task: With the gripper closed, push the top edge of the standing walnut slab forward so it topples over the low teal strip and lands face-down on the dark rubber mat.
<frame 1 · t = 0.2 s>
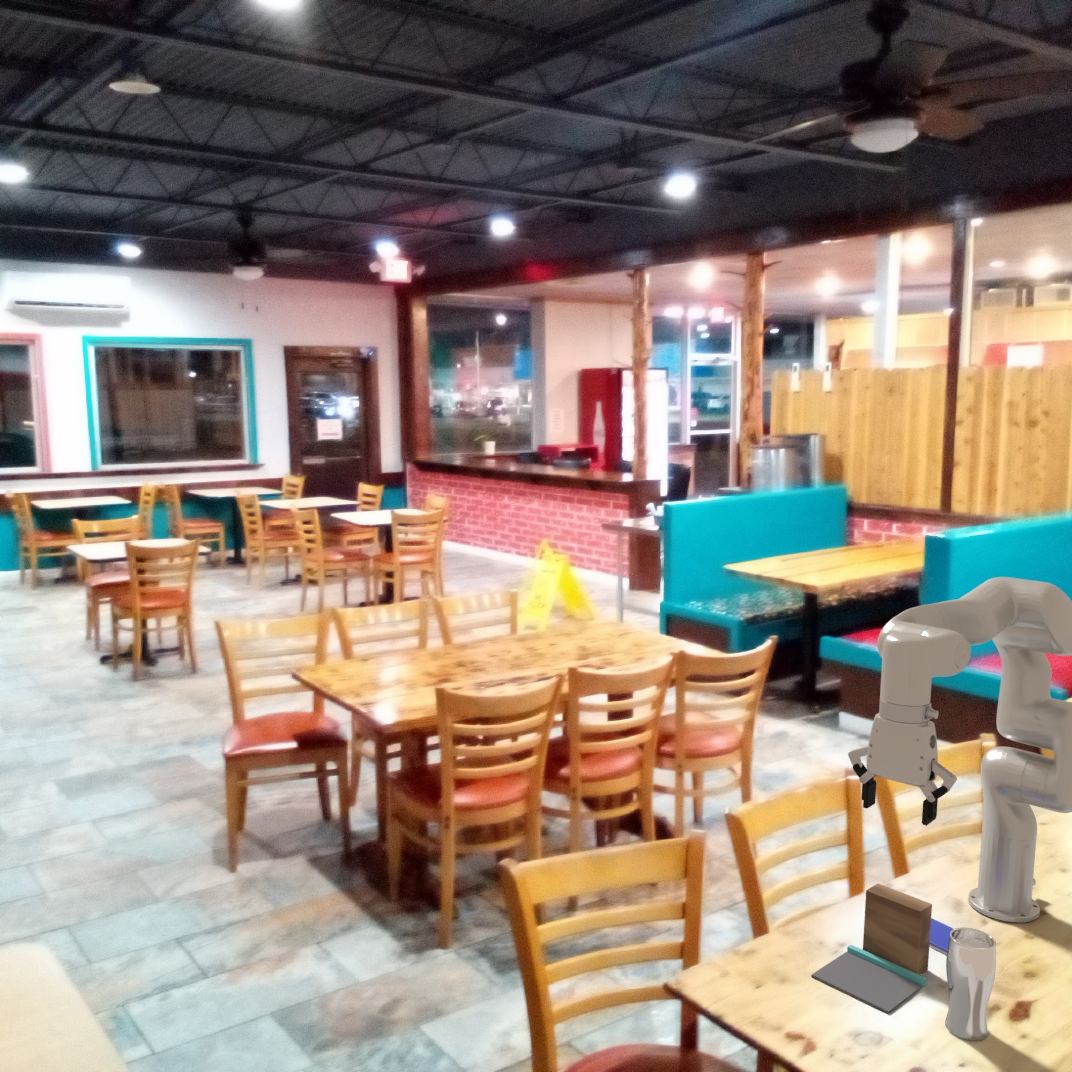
hand: (897, 814, 162), 31 cm above the table, tool pointing down, fingers open, 9 cm apart
mat: (866, 982, 169), on the table
slab: (894, 962, 175), on the table
hard drive: (947, 946, 182), on the table
beer glass: (966, 1030, 156), on the table
stop strip: (885, 968, 173), on the table
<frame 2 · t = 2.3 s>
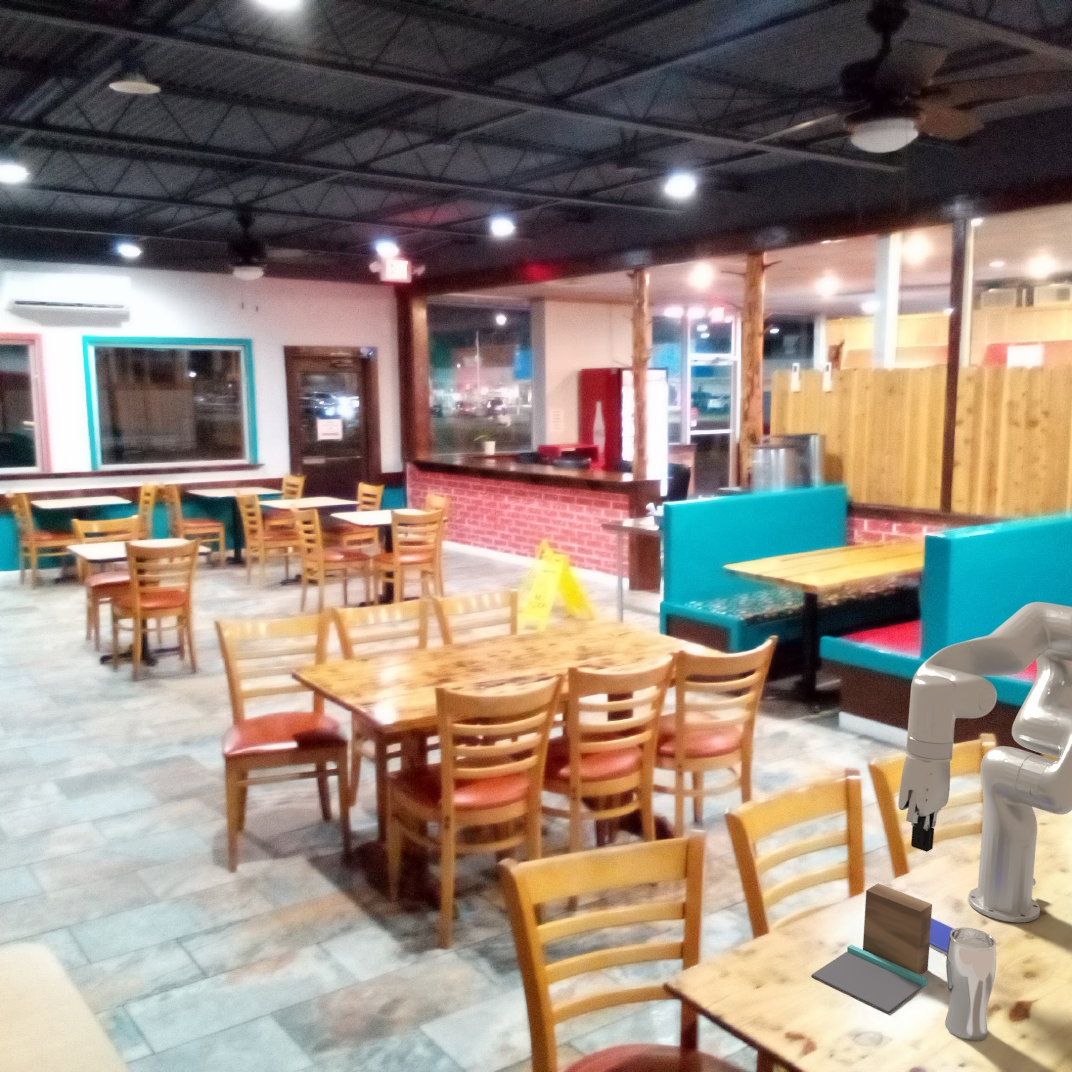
hand: (921, 847, 178), 19 cm above the table, tool pointing down, fingers closed
nothing on the table moved.
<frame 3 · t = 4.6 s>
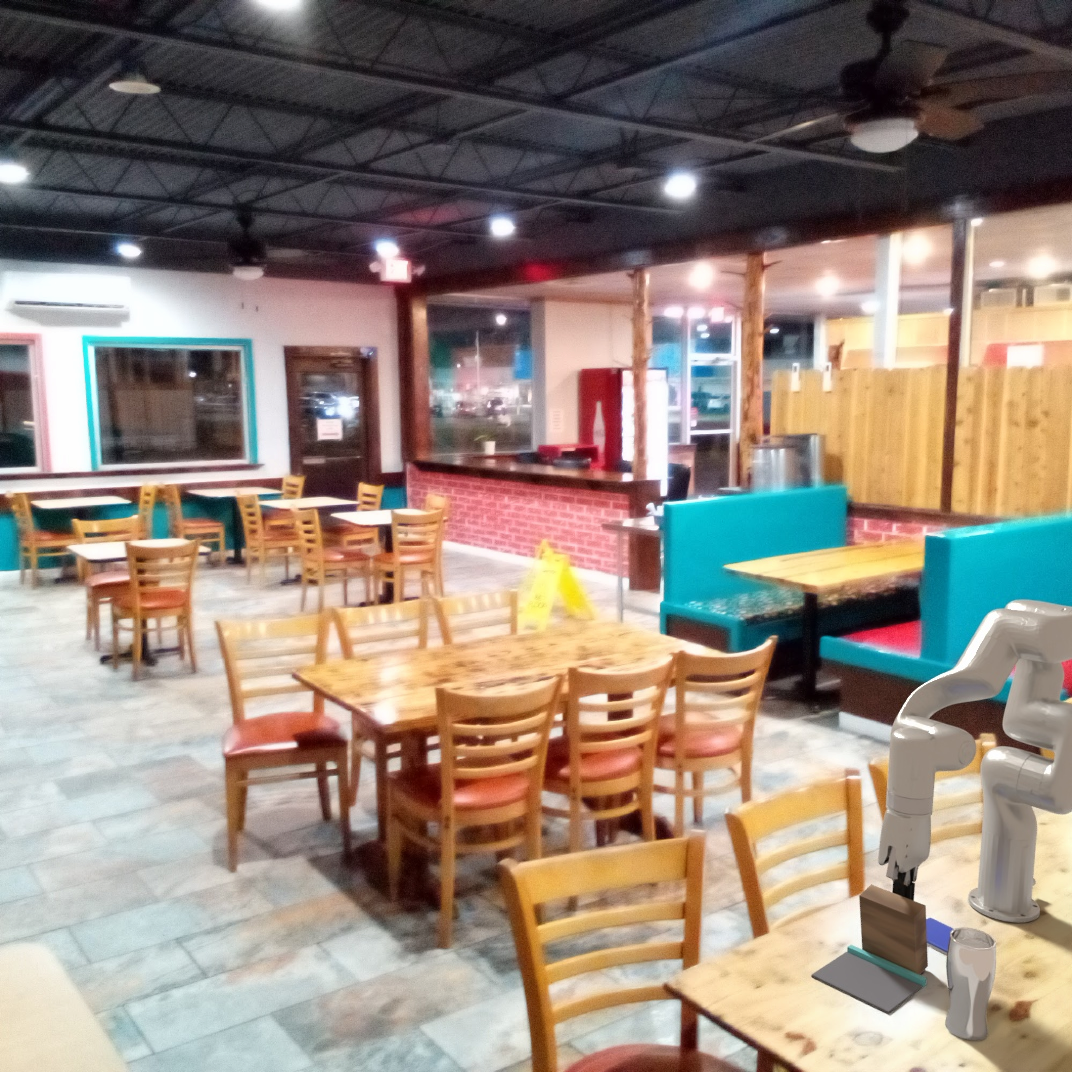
hand: (902, 902, 175), 10 cm above the table, tool pointing down, fingers closed
slab: (894, 960, 175), on the table, tilted 11°
everything else where it was.
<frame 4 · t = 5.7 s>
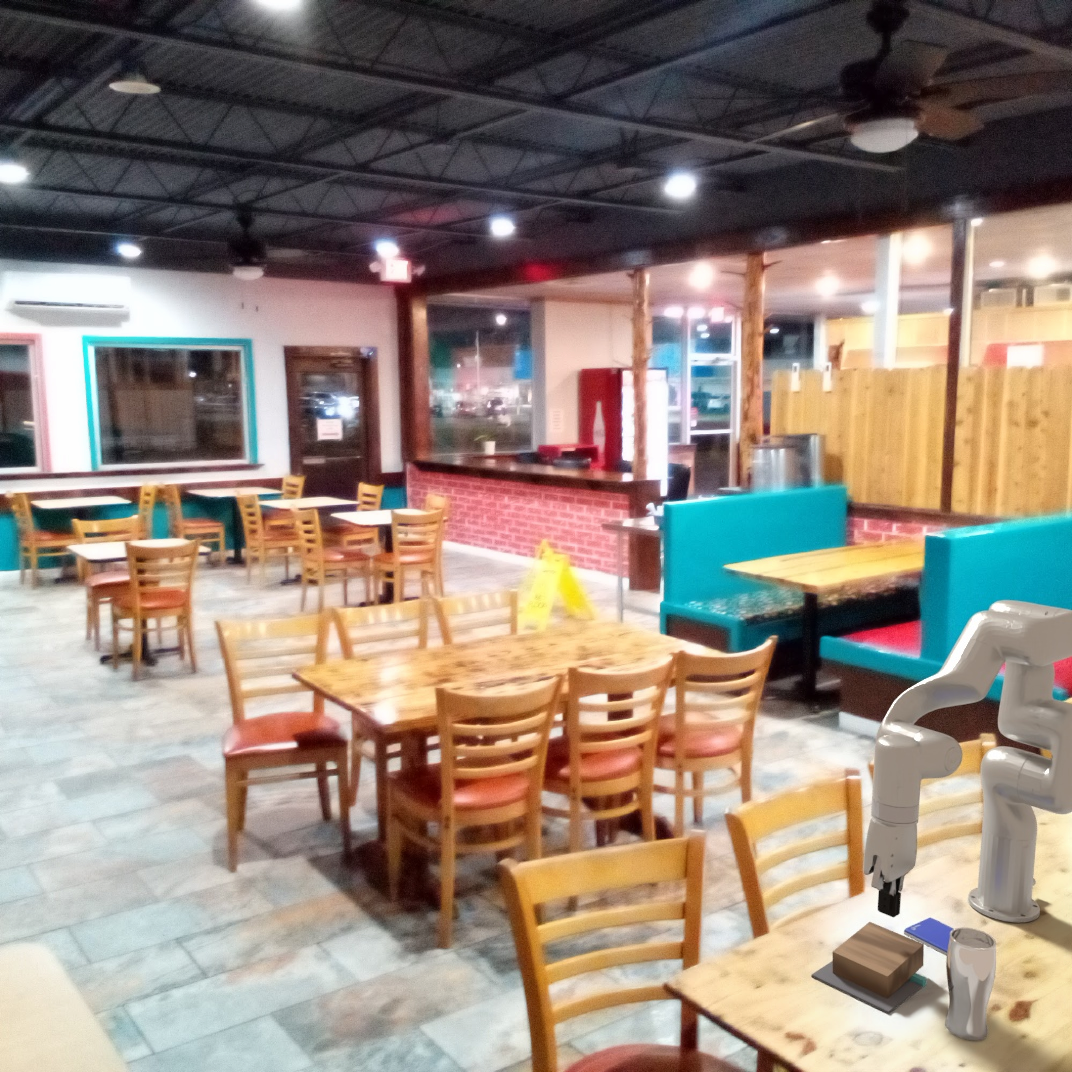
hand: (888, 912, 172), 10 cm above the table, tool pointing down, fingers closed
slab: (896, 943, 175), point 4 cm above the table, tilted 96°, touching mat, stop strip
everything else where it was.
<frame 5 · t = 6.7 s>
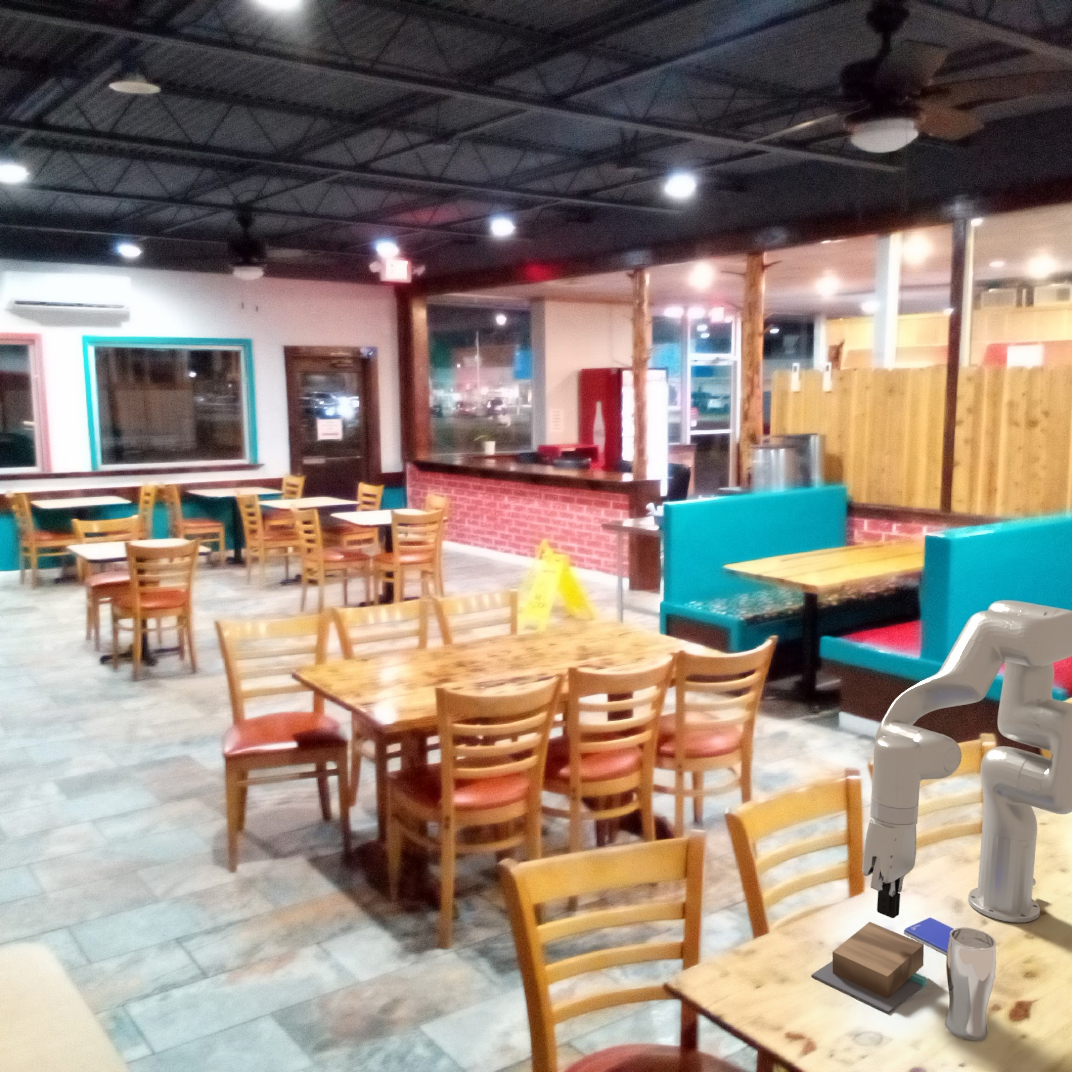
hand: (887, 913, 172), 10 cm above the table, tool pointing down, fingers closed
nothing on the table moved.
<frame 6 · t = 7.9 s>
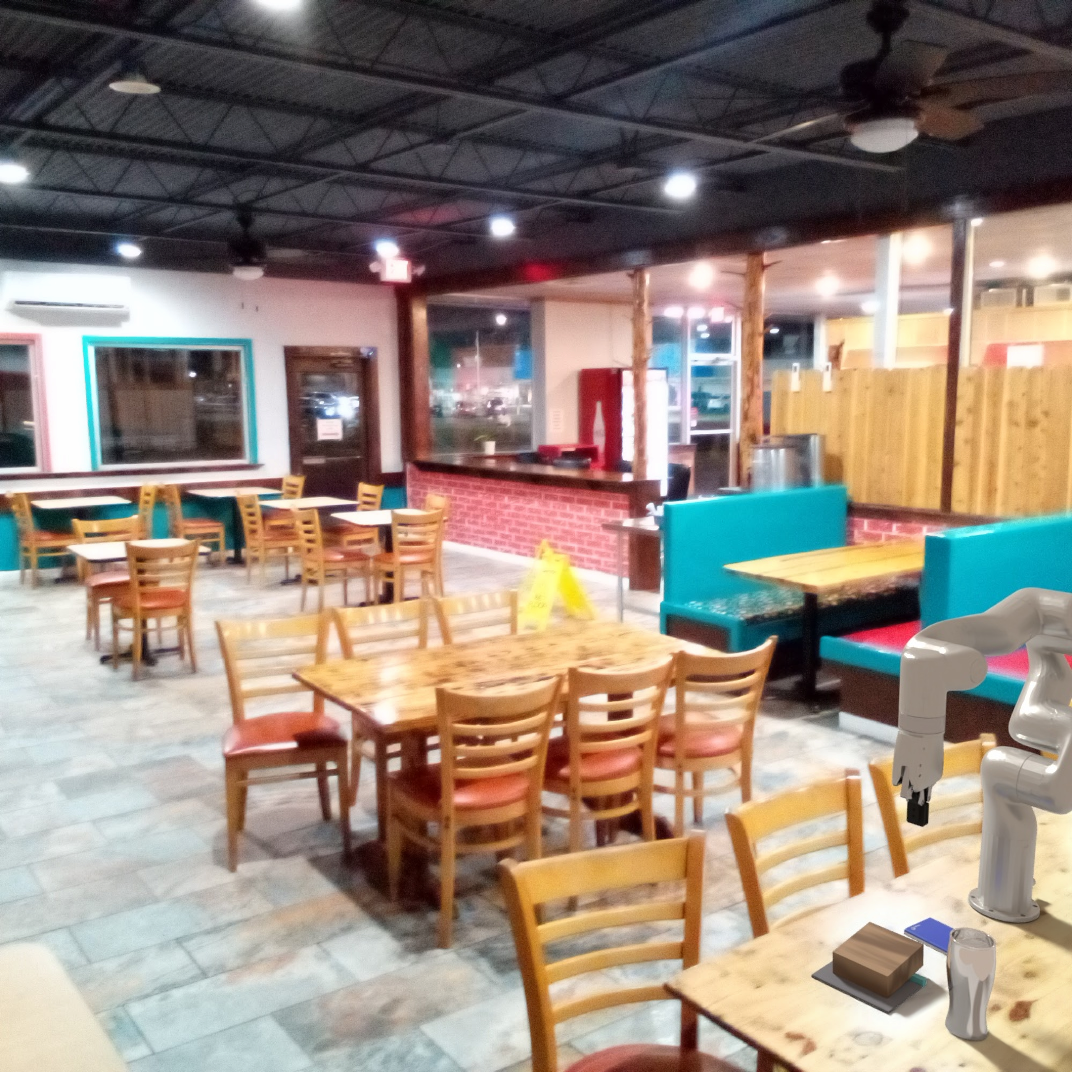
hand: (917, 823, 175), 24 cm above the table, tool pointing down, fingers closed
nothing on the table moved.
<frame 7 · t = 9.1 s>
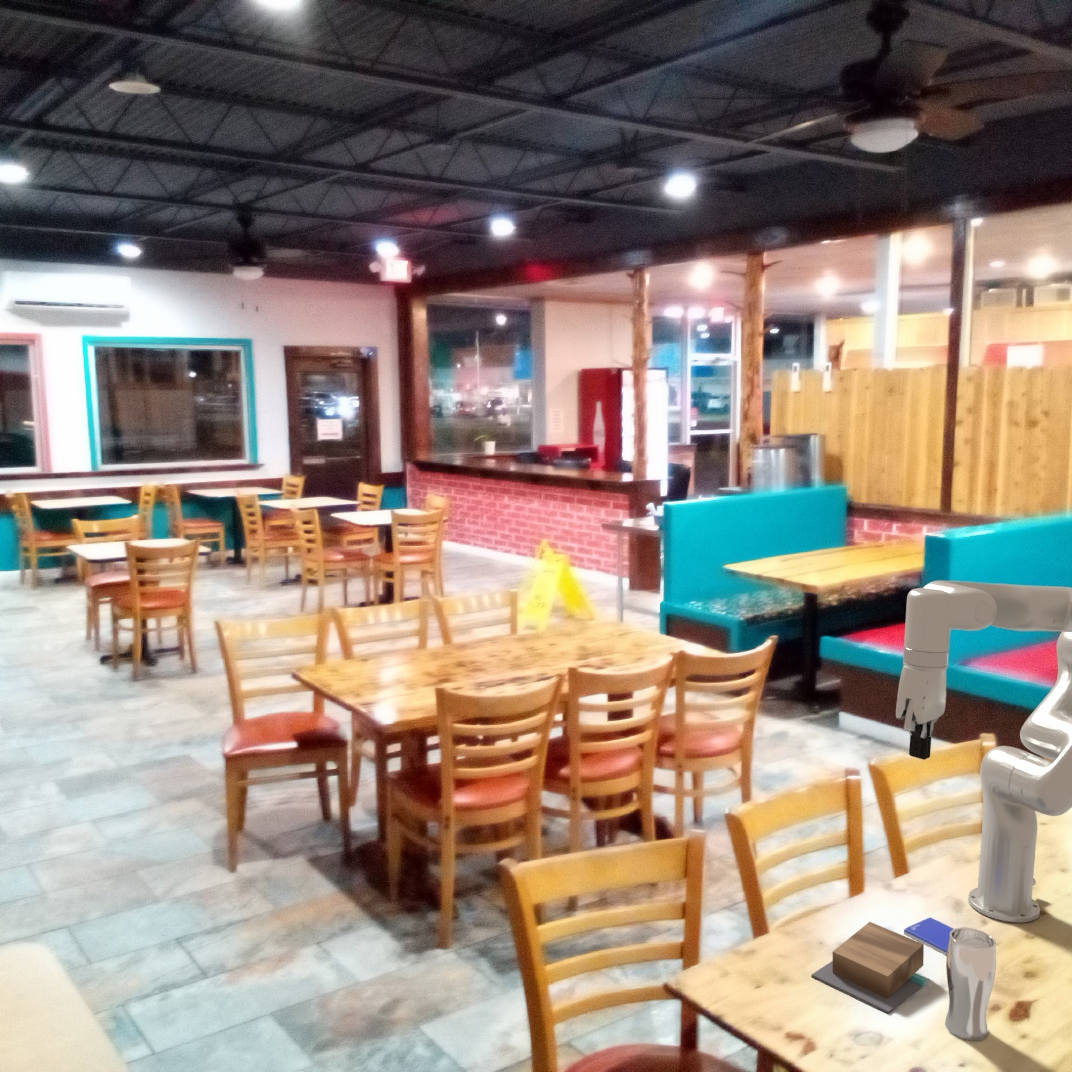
hand: (919, 756, 182), 33 cm above the table, tool pointing down, fingers closed
nothing on the table moved.
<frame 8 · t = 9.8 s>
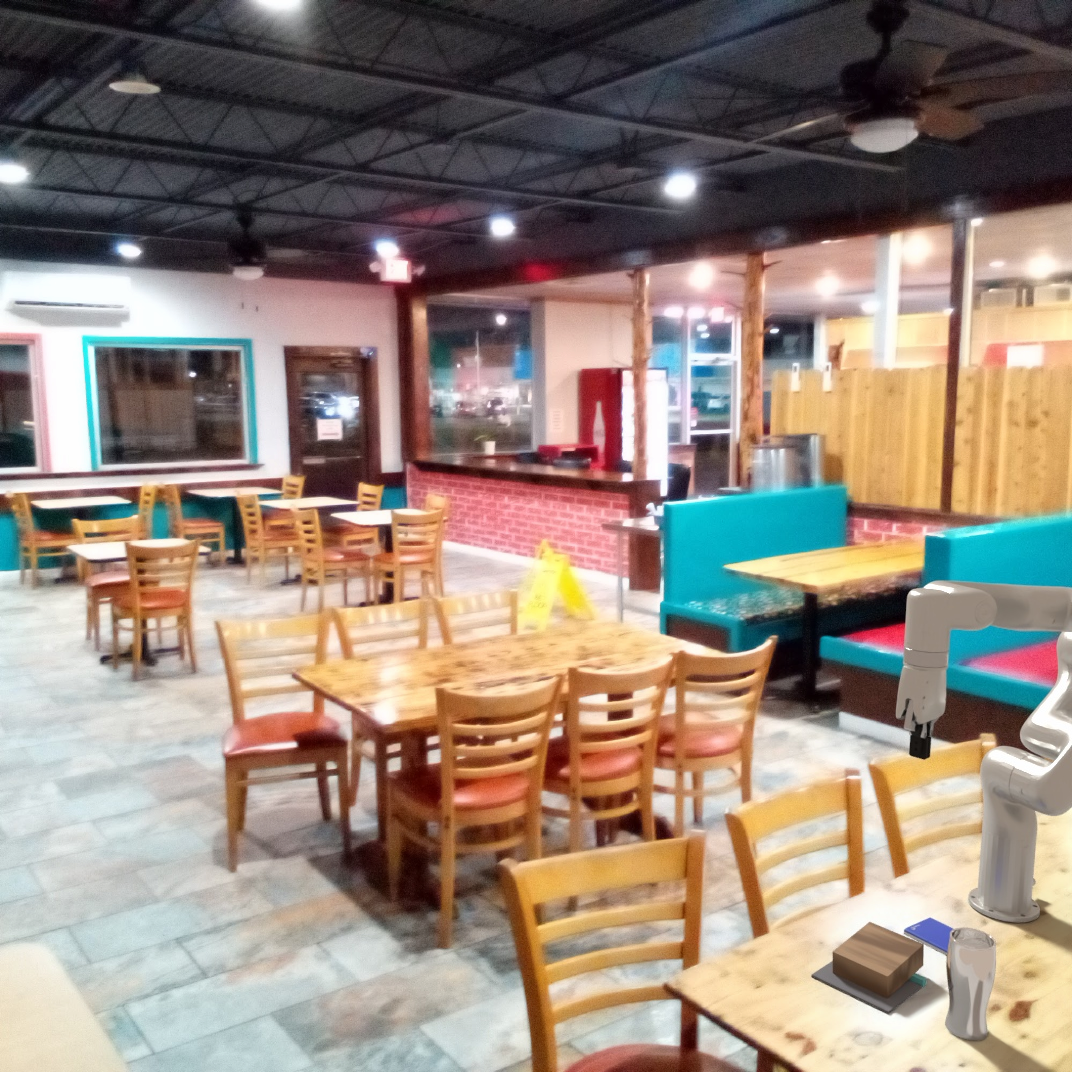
hand: (919, 756, 182), 33 cm above the table, tool pointing down, fingers closed
nothing on the table moved.
at the end: slab tilted 96°; slab inside the target area (7.9 cm from its centre), point 3.6 cm above the table; slab touching mat, stop strip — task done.
